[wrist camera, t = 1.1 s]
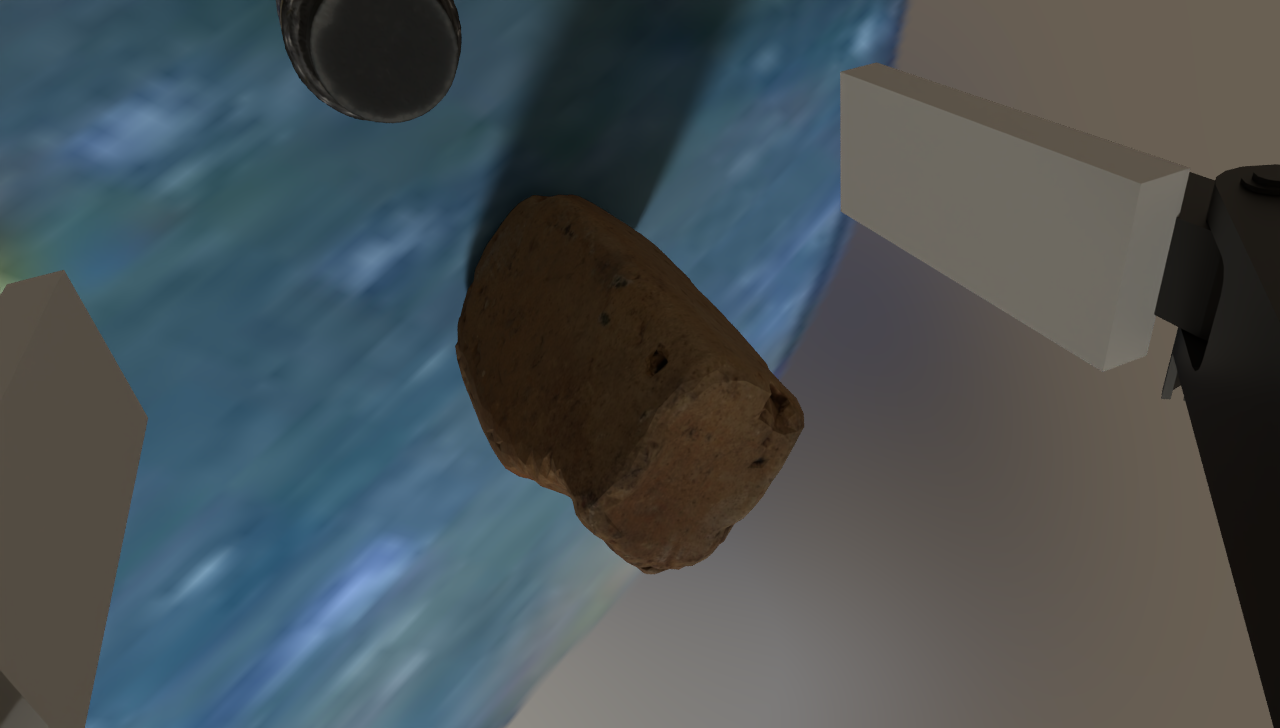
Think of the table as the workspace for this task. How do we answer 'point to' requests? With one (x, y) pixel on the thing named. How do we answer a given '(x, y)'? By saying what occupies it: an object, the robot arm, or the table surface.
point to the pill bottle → (374, 53)
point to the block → (619, 384)
